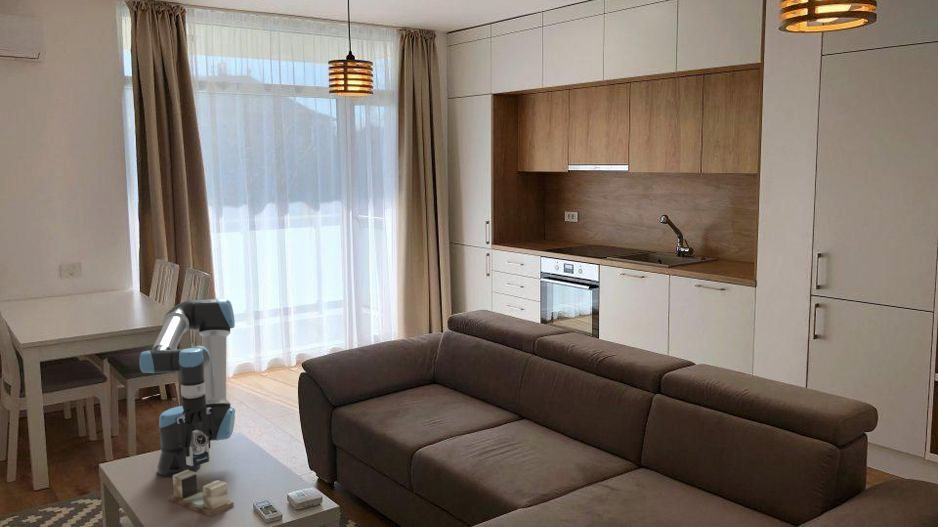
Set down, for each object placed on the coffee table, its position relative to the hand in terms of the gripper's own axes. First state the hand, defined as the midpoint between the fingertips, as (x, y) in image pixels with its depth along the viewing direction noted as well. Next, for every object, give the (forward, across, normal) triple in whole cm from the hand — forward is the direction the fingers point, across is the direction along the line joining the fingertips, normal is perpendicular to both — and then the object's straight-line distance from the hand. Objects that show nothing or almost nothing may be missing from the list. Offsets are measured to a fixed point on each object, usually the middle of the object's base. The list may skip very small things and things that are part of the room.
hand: (198, 461), depth 262 cm
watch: (+1, 0, 0) cm, 1 cm away
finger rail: (+15, 0, 0) cm, 15 cm away
